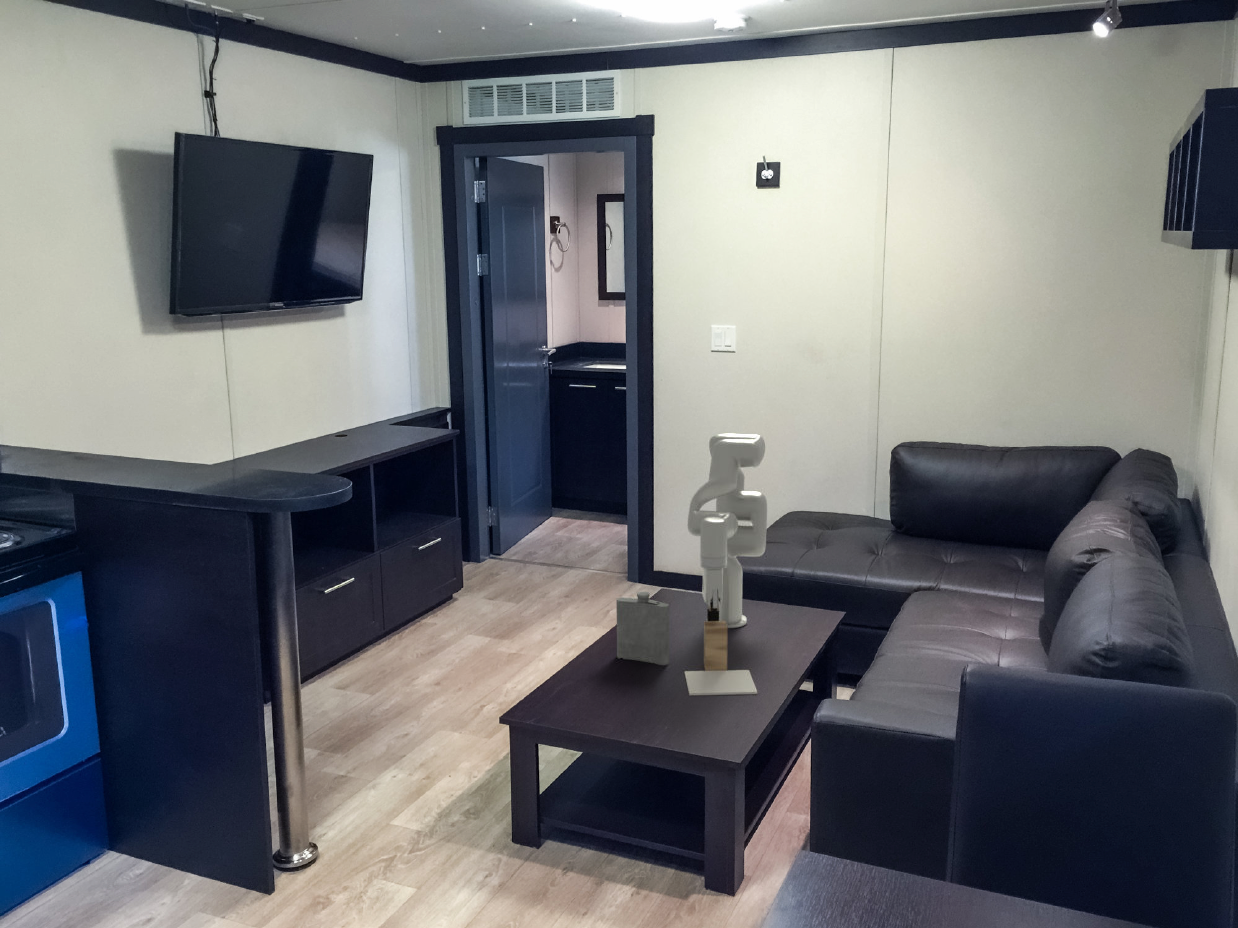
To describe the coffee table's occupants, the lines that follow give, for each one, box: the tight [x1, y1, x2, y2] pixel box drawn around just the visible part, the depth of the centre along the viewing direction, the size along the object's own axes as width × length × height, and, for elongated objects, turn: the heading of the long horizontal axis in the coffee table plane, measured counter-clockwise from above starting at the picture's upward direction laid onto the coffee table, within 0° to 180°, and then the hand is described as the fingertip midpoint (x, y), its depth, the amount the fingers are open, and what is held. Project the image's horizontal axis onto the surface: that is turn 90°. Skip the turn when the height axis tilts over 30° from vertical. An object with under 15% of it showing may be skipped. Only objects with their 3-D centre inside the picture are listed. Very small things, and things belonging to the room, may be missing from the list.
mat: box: [684, 669, 758, 696], centre depth 287 cm, size 15×18×1 cm
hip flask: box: [615, 591, 670, 666], centre depth 303 cm, size 16×4×20 cm, turn 66°
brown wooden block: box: [703, 620, 728, 671], centre depth 297 cm, size 5×6×13 cm
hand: (713, 622), depth 301 cm, fingers closed
